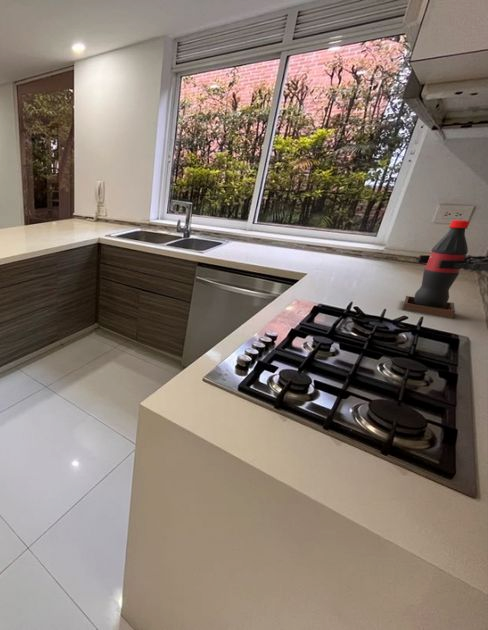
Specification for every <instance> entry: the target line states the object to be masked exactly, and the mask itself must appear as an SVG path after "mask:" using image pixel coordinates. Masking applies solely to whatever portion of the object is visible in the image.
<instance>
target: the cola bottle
mask: <svg viewBox="0 0 488 630" xmlns="http://www.w3.org/2000/svg"><path fill="white" fill-rule="evenodd" d="M469 225H470V221H469V220H462V219H457V220H456V219H454V220H452V221H451V223H450V225H449V227H448V228H449V230H448V231H447V233H446V234H445V235H444V236H443V237H442V238H440V239H439V240H438V241H437V242H436V243H435V245H434V246H433V247H432V248H431V249H430V250H431V252H430V254H429V255H430V257H429V260H428V263H426V265H425V267H424V270H423V273H422V280H421V286H420V287H419V289H418V290H416V292H415V294H414V296H413V297H414V300H415V303H417V304H418V305H421V306H427V307H433V308H440V307H443V306H444V305H445V304H446V303H447V302H449V299H450V289H451V287H452V285H453V284H454V282H455V281H456V279H457V278H458V277H459V275H460V271H461V269H440V268H437V267H438V265H439V262H440V260H460V261H464V258H465V256H466V255H467V254H468V252H469V249H468V248H469V247H468V242H467V238H466V230H467V229H468V227H469Z"/></svg>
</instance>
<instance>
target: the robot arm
mask: <svg viewBox="0 0 488 630" xmlns="http://www.w3.org/2000/svg"><path fill="white" fill-rule="evenodd" d="M430 255H431V254H429V255H427V254H420V255H419V256H418V259H417V262H416V263H417V264H427V263H428V260H429V257H430ZM437 268H440V269H460V270H462V269H463V270H470V271H471V272H479V271H480V272H481V271H483V272H486V273H487V274H488V255H486V256H485V255H478V256H475V255H471V254H468V255H467V254H466V256H465V258H464V261H460V260H440V262H439V265H438V267H437Z"/></svg>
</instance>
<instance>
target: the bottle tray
mask: <svg viewBox="0 0 488 630" xmlns="http://www.w3.org/2000/svg"><path fill="white" fill-rule="evenodd" d="M414 297H415V296H410V295H406V296H405V299H404V301H403V304H402V306H401V307H402V308H401V311H407V312H411V313H412V312H413V313H418V314H423V315H430V316H434V317H441V318H446V319H453V318H454V315H455V312H456V309H455V302H449V301H447V303H446V304H445V305H444V306H443V307H440V308H433V307H427V306H421V305H418V304H417V303H415V300H414Z"/></svg>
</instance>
